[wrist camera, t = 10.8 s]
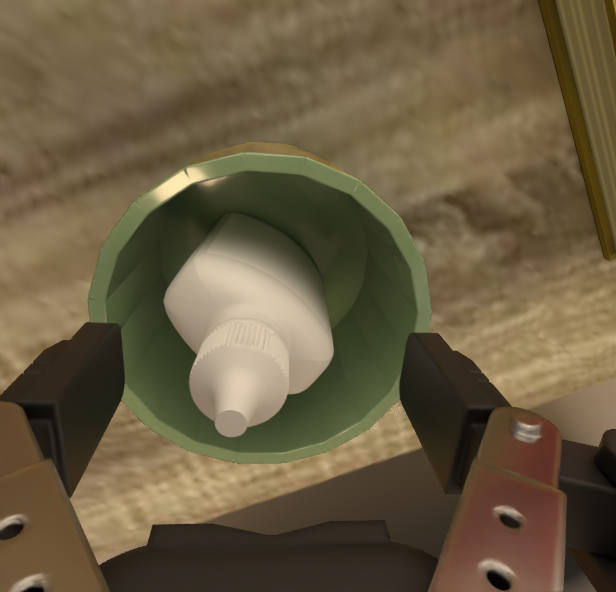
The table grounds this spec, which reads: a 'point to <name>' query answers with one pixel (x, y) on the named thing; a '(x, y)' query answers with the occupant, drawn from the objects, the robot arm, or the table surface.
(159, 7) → the table surface
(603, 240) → the hardcover book
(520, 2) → the table surface
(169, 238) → the pen cup
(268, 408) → the eye dropper bottle
